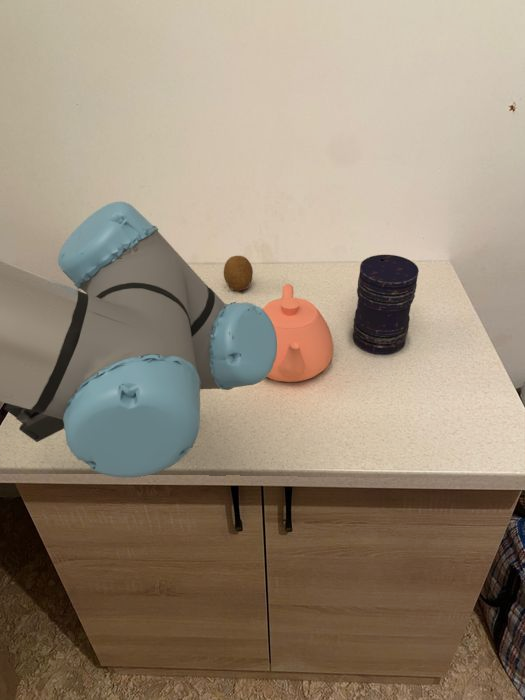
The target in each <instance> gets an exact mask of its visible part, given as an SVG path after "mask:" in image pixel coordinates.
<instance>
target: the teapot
mask: <svg viewBox="0 0 525 700" xmlns="http://www.w3.org/2000/svg"><path fill="white" fill-rule="evenodd" d="M281 296H282V297H281V298H277V299H273V300H271V301H269V302H268V303H267V304H265V306H263V307H262V309H263V310H264V311H265V312H266V314H267V315H268V316H269V318H270V319H271V321H272V323H273V326H274V329H275V332H276V338H277V355H276V359H275V361H274V363H273V367H272V370H271V371H270V373H269V374H268V376H267V377H266V378H268V379H271V380H274V381H278V382H283V383H284V382H286V383H294V382H295V383H296V382H302V381H307V380H309V379H312V378H314V377H316V376H317V375H319V374H321V372H323V371H325V369H327V367H328V366H329V364H330V363H331V360H332V358H333V355H334V341H333V337H332V336H333V335H332V332H331V329H330V328H329V325H328V323H327V321H326V320H325V318H324V316H323V315H322V314H321V312H320V310H319V309H318V308H317V307H316V305H314V304H313V303H312V302H310V301H309V300H307V299H304V298H300V297H294V287H293V285H292V284H290V283H285V284H284V285H283V287H282V295H281Z"/></svg>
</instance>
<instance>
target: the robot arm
mask: <svg viewBox="0 0 525 700" xmlns="http://www.w3.org/2000/svg"><path fill="white" fill-rule="evenodd" d="M57 261H58V266H59V268H60V270H61V271H62V272H63V273H64V275H66V277H68V279H69V280H70V281H71V282H72V283H73V285H74V286H75V287H76V288H77V289H78V290H77V289H76V288H73V287H70V286H67V285H65V284H62V283H61V282H58V281H55V280H53V279H51V278H48V277H45V276H42V275H40V274H38V273H35V272H33V271H30V270H28V269H25V268H22V267H20V266H17V265H15V264H13V263H10V262H7V261H5V260H2V259H0V402H1V403H3V404H6V405H5V407H4V408H3V409H4V410H5V411H6V412H8V413H9V414H11V416H13V417H15V419H16V420H17V421H19V422H20V423H21V425H20V426H19V431H20V432H22V433H23V434H24V435H26V436H27V437H29V438H30V439H31V440H33V441H34V442H36V443H39V442H40V441H42V440H44V439H46V438H48V437H51V436H53V435H54V434H56V433H58V432H60V431H62V430H64V435H65V436H64V437H65V442H66V445H67V447H68V449H69V451H70V453H71V454H72V455H73V456H74V457H75V458H76V459H77V460H78V461H81V462H83V463H84V464H86V465H88V466H89V467H90V469H91V470H92V471H94V472H96V473H98V474H101V475H105V476H108V477H113V478H140V477H141V478H142V477H147V476H151V475H154V474H157V473H160V472H163V471H165V470H166V469H169V468H171V467H172V466H174V465H175V464H177V463H178V462H179V461H181V460H182V459H183V458H184V457H185V456H186V455H187V454H188V452H190V450H191V449H192V448H193V447H194V444H195V443H196V440H197V439H198V436H199V433H200V429H201V390H220V389H221V390H222V391H223V390H224V391H229V390H233V389H235V388H240V387H247V386H254V385H256V384H259V383H261V382H262V381H264V380H265V379H266V378H268V377H267V376H268V374H269V373H270V371H271V370H272V367H273V363H274V361H275V359H276V355H277V338H276V332H275V329H274V326H273V323H272V321H271V319H270V318H269V316H268V315H267V314H266V312H265V311H264V310H263V308H262V307H260V306H258V305H256V304H254V303H251V302H236V301H232V302H230V303H229V304H227V303H225V302H224V301H223V300H222V299H221V297H219V295H218V294H217V293H216V292H215V291H214V290H213V289H212V288H210V287H209V286H208V285H207V284H206V283H205V281H203V279H202V278H201V277H200V276H199V275H198V274H197V272H195V271H194V270H193V268H192V267H191V266H190V265H189V263H187V262H186V261H185V259H183V257H182V256H181V255H180V254H179V253H178V252H177V250H176V249H175V248H174V247H173V246H172V245H171V244H170V243H169V242H168V241H167V240H166V238H165V237H164V235H162V234H161V233H160V231H159V227H158V226H156V225H153V224H152V223H151V222H150V221H149V220H148V219H147V218H146V217H145V216H144V215H143V214H142V213H140V211H138V210H137V209H136V208H135V207H134V206H133V205H132V204H130V203H129V202H126V201H121V200H120V201H114V202H110V203H107V204H106V205H104V206H102V207H100V208H99V209H97V210H96V211H94V212H93V213H92V214H91V215H89V216H88V217H87V218H86V219H85V220H83V221H82V222H81V223H80V224H79V225H78V226H77V227H76V228H75V229H74V230H73V232H72V233H71V234H70V235H69V236H68V238H66V241H64V243H63V245H62V246H61V248H60V251H59V253H58V259H57ZM79 289H80V290H82V291H80V290H79Z"/></svg>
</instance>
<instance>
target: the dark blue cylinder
mask: <svg viewBox="0 0 525 700" xmlns="http://www.w3.org/2000/svg"><path fill="white" fill-rule="evenodd" d="M419 270H420V269H419V267H418V266H417V264H416V263H415V262H414V261H412V260H410V259H409V258H406V257H403V256H400V255H395V254H376V255H372V256H369V257H367V258H364V259H363V260H362V261H361V263H360V265H359V274H358V278H357V288H356V293H357V305H356V309H355V311H354V318H353V323H352V324H353V325H352V327H353V329H352V330H353V332H352V342H353V343H354V345H355V346H356V347H357V348H358V349H360V350H361V351H364V352H365V353H368V354H372V355H377V356H389V355H394V354H397V353H398V352H400V351H401V350H403V348H404V347H405V346H406V341H407V340H406V338H407V335H408V333H409V328H410V319H411V318H410V317H411V316H410V312H411V308H412V304H413V302H414V299H415V297H416V291H417V290H416V289H417V285H418V284H417V283H418V276H419Z"/></svg>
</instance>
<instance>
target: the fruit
mask: <svg viewBox="0 0 525 700" xmlns="http://www.w3.org/2000/svg"><path fill="white" fill-rule="evenodd" d="M253 274H254V272H253V265H252V264H251V262H250V260H249V259H248V258H247V257H245V256H244V255H233V256H231V257H229V258H228V259H227V260H226V262H225V263H224V267H223V279H224V281H225V283H226V284H227V287H229V288H230V289H231V290H233V291H244V290H246V289H247V288H249V287H250V285H251V283H252V280H253V276H254V275H253Z"/></svg>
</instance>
